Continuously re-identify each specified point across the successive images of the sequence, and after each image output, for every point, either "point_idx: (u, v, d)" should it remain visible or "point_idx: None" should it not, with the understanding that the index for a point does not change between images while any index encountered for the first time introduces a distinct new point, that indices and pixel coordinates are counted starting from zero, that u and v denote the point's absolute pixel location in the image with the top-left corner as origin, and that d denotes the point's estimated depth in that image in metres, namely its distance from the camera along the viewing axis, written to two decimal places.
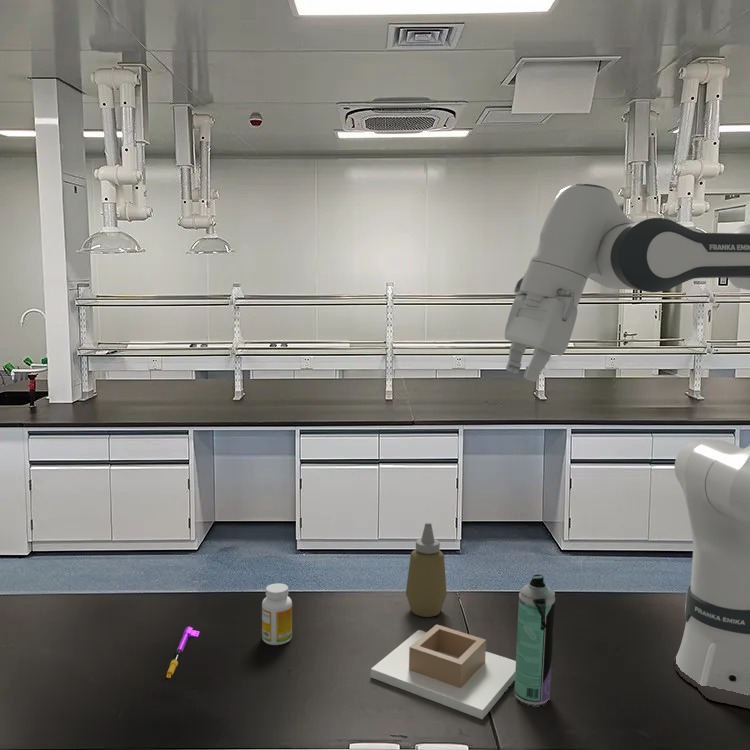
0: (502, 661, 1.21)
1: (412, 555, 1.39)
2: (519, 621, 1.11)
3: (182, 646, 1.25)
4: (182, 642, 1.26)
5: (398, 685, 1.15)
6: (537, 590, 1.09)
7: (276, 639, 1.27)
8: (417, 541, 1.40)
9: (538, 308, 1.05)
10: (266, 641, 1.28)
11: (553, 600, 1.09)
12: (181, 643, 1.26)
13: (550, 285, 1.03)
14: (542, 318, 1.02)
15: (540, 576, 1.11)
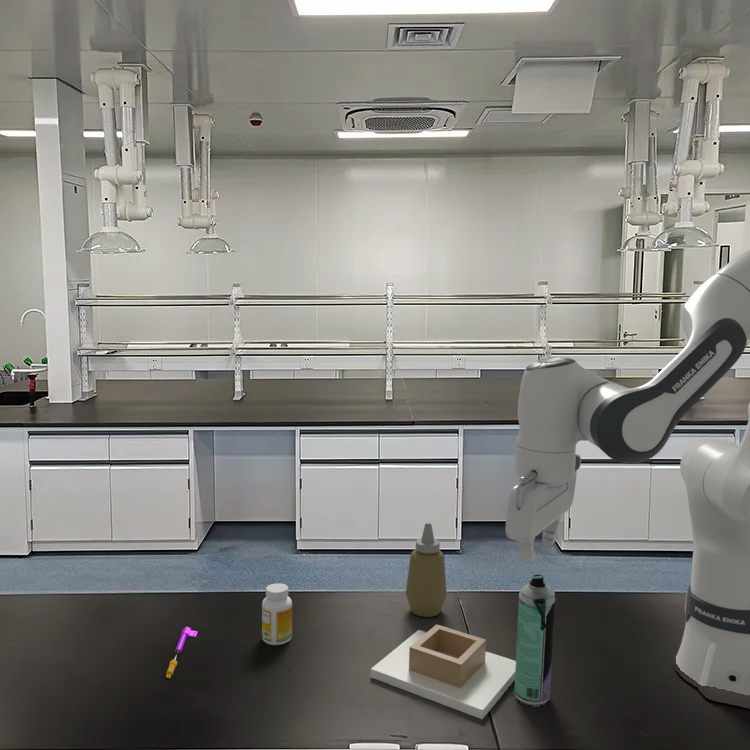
0: (502, 661, 1.21)
1: (412, 555, 1.39)
2: (519, 621, 1.11)
3: (181, 646, 1.25)
4: (180, 642, 1.26)
5: (398, 685, 1.15)
6: (537, 590, 1.09)
7: (276, 639, 1.27)
8: (417, 541, 1.40)
9: None
10: (266, 641, 1.28)
11: (553, 600, 1.09)
12: (180, 643, 1.26)
13: (523, 468, 1.06)
14: None
15: (540, 576, 1.11)
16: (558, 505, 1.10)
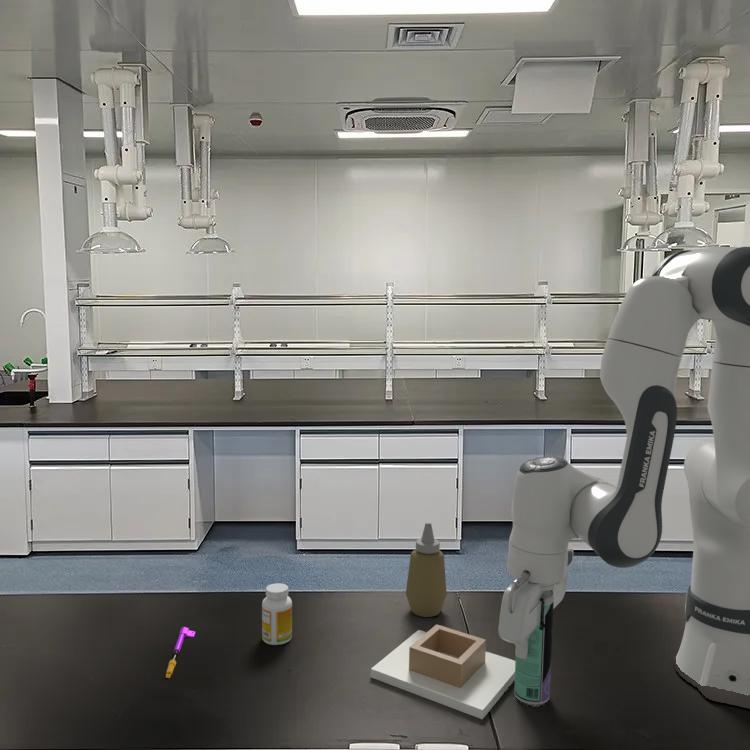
0: (502, 661, 1.21)
1: (412, 555, 1.39)
2: None
3: (179, 646, 1.25)
4: (179, 642, 1.26)
5: (398, 685, 1.15)
6: None
7: (276, 639, 1.27)
8: (417, 541, 1.40)
9: None
10: (266, 641, 1.28)
11: (552, 600, 1.09)
12: (178, 643, 1.26)
13: (516, 567, 1.08)
14: None
15: None
16: None
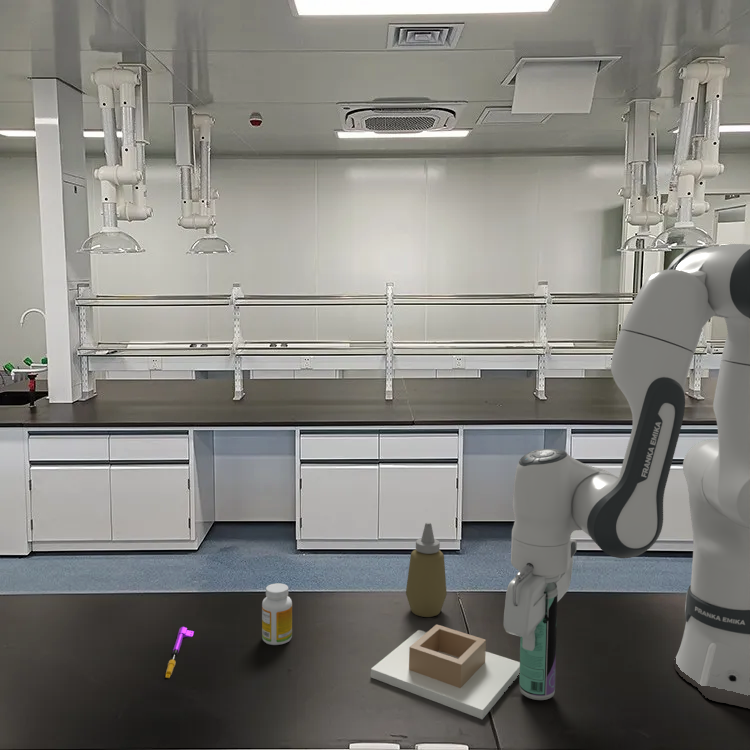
0: (502, 661, 1.21)
1: (412, 555, 1.39)
2: None
3: (178, 646, 1.25)
4: (178, 642, 1.26)
5: (398, 685, 1.15)
6: None
7: (276, 639, 1.27)
8: (417, 541, 1.40)
9: None
10: (266, 641, 1.28)
11: (555, 593, 1.09)
12: (177, 643, 1.26)
13: (520, 560, 1.08)
14: None
15: None
16: None
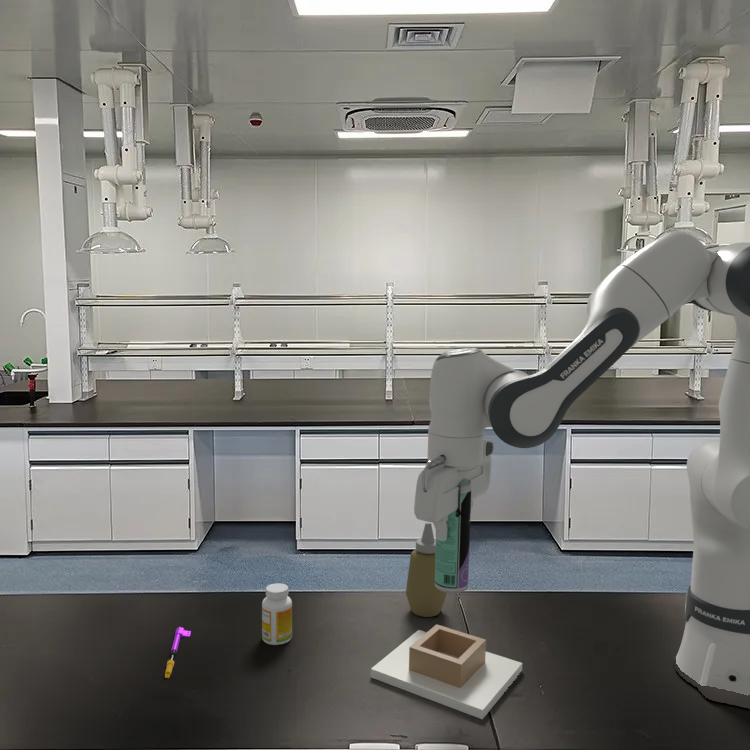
0: (502, 661, 1.21)
1: (412, 555, 1.39)
2: None
3: (176, 646, 1.25)
4: (175, 642, 1.26)
5: (398, 685, 1.15)
6: None
7: (276, 639, 1.27)
8: (417, 541, 1.40)
9: None
10: (266, 641, 1.28)
11: (468, 489, 1.13)
12: (175, 643, 1.26)
13: (434, 453, 1.11)
14: None
15: None
16: (471, 489, 1.16)
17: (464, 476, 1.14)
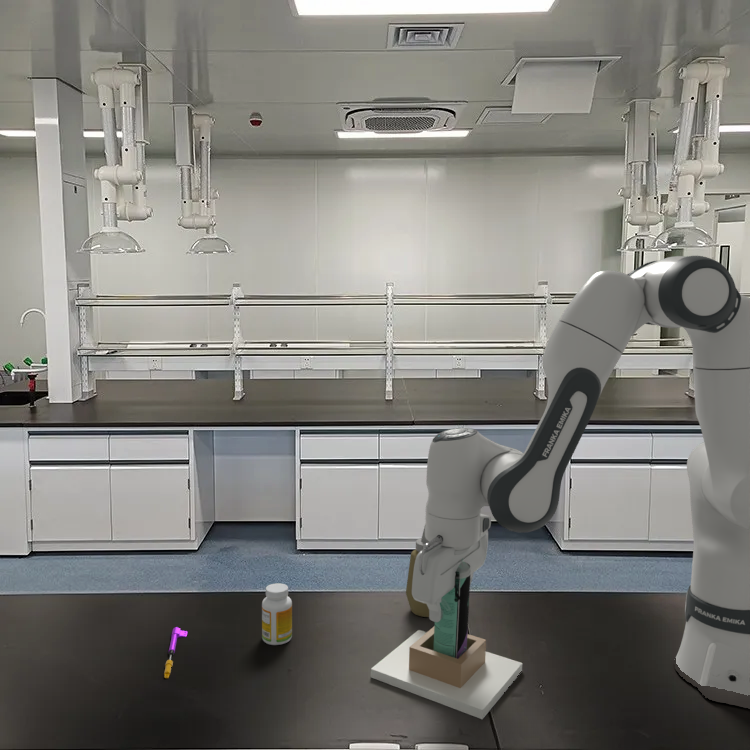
0: (502, 661, 1.21)
1: (412, 555, 1.39)
2: None
3: (174, 646, 1.25)
4: (173, 643, 1.26)
5: (398, 685, 1.15)
6: None
7: (276, 639, 1.27)
8: (417, 541, 1.40)
9: None
10: (266, 641, 1.28)
11: (467, 574, 1.15)
12: (172, 643, 1.26)
13: (431, 532, 1.13)
14: None
15: None
16: None
17: (461, 553, 1.16)
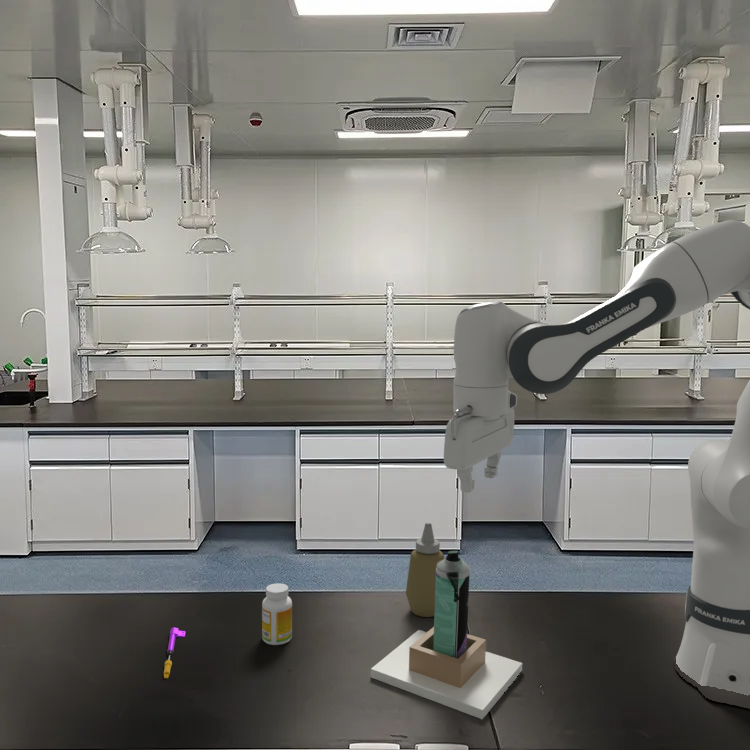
0: (502, 661, 1.21)
1: (412, 555, 1.39)
2: (435, 594, 1.17)
3: (172, 646, 1.25)
4: (171, 643, 1.26)
5: (398, 685, 1.15)
6: (451, 564, 1.15)
7: (276, 639, 1.27)
8: (417, 541, 1.40)
9: None
10: (266, 641, 1.28)
11: (466, 574, 1.15)
12: (171, 644, 1.26)
13: (460, 404, 1.14)
14: None
15: (455, 551, 1.16)
16: (496, 440, 1.19)
17: (490, 427, 1.17)
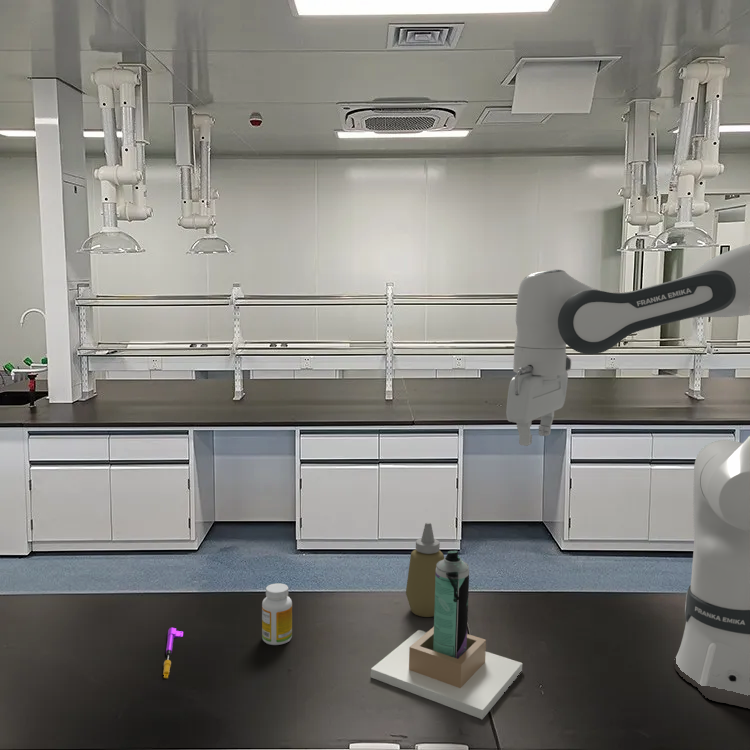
0: (502, 661, 1.21)
1: (412, 555, 1.39)
2: (435, 594, 1.17)
3: (171, 646, 1.25)
4: (170, 643, 1.26)
5: (398, 685, 1.15)
6: (451, 564, 1.15)
7: (276, 639, 1.27)
8: (417, 541, 1.40)
9: None
10: (266, 641, 1.28)
11: (466, 574, 1.15)
12: (169, 644, 1.26)
13: (521, 364, 1.23)
14: None
15: (455, 551, 1.16)
16: (552, 400, 1.28)
17: (547, 387, 1.26)
